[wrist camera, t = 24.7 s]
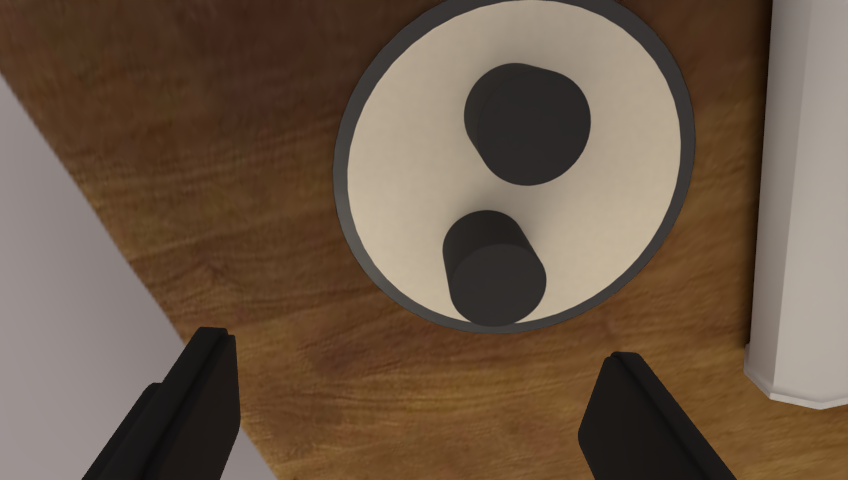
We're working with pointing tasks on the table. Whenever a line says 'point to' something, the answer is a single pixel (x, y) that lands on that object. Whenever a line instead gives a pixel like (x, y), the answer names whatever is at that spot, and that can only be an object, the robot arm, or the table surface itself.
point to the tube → (803, 211)
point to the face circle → (482, 190)
